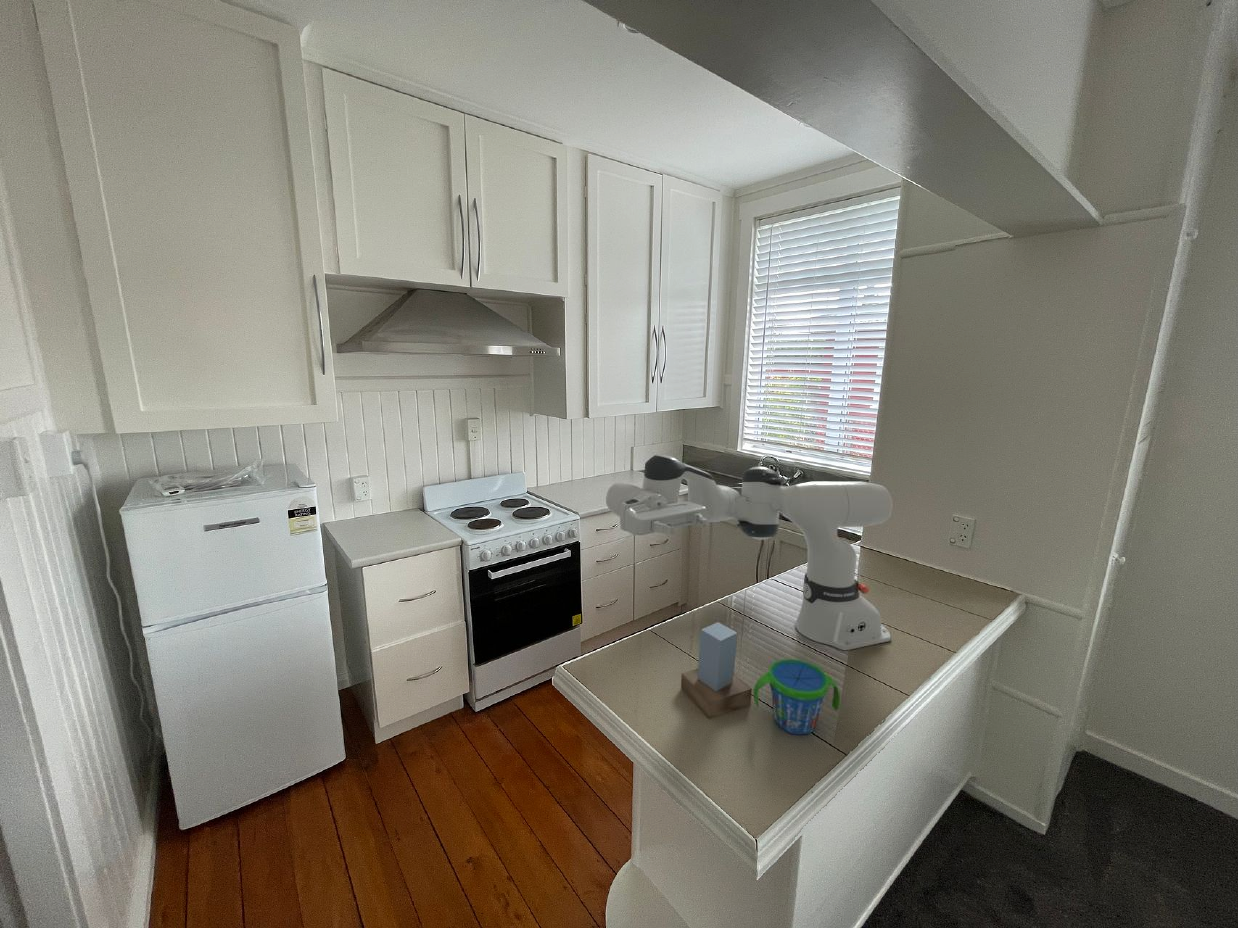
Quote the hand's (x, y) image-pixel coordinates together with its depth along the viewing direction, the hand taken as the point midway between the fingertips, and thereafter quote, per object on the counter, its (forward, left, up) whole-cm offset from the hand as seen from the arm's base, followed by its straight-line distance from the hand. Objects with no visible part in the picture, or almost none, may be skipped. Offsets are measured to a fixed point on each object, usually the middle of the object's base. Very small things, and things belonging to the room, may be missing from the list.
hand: (688, 527), depth 109 cm
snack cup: (-16, +22, -32) cm, 42 cm away
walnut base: (-3, +13, -32) cm, 35 cm away
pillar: (-3, +13, -28) cm, 31 cm away
